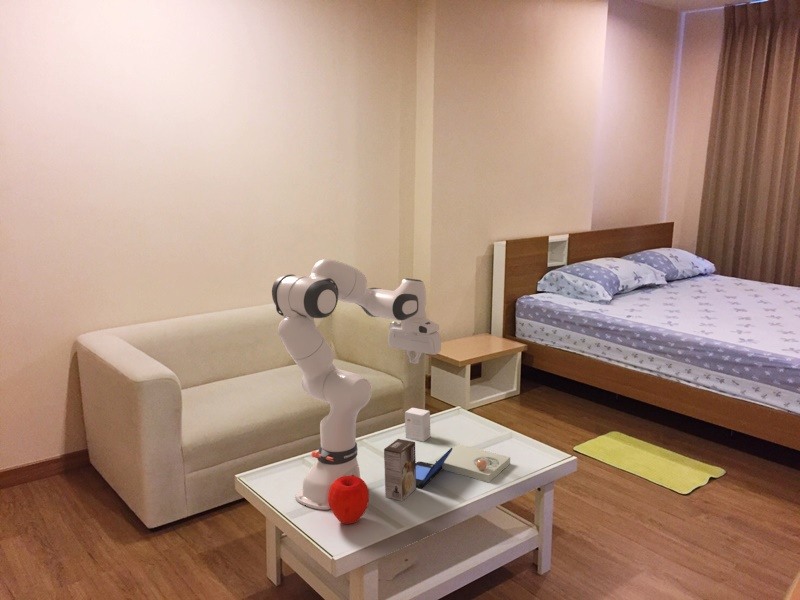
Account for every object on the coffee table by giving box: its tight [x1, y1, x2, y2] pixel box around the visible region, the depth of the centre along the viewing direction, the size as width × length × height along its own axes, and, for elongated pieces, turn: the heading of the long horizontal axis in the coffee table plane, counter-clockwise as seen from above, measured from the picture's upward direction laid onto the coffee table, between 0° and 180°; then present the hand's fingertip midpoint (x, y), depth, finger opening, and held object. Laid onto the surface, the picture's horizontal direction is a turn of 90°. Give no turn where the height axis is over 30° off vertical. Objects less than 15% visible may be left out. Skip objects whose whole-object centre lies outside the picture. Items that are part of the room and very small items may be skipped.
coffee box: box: [383, 438, 417, 502], centre depth 199 cm, size 9×6×16 cm
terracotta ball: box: [476, 459, 487, 470], centre depth 210 cm, size 4×4×4 cm
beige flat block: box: [435, 443, 511, 483], centre depth 218 cm, size 16×20×2 cm
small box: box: [404, 407, 431, 443], centre depth 242 cm, size 8×6×10 cm
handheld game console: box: [416, 447, 453, 490], centre depth 210 cm, size 16×13×9 cm
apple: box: [328, 476, 370, 525], centre depth 183 cm, size 12×12×13 cm
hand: (414, 362), depth 224 cm, fingers closed
